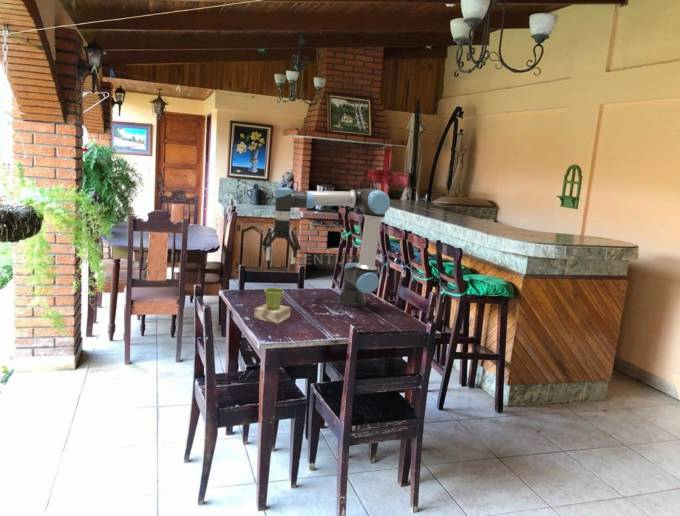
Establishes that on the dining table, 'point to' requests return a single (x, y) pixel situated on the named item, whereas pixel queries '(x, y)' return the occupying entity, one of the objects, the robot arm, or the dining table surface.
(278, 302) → the plant pot
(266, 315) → the ash block
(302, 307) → the dining table surface
